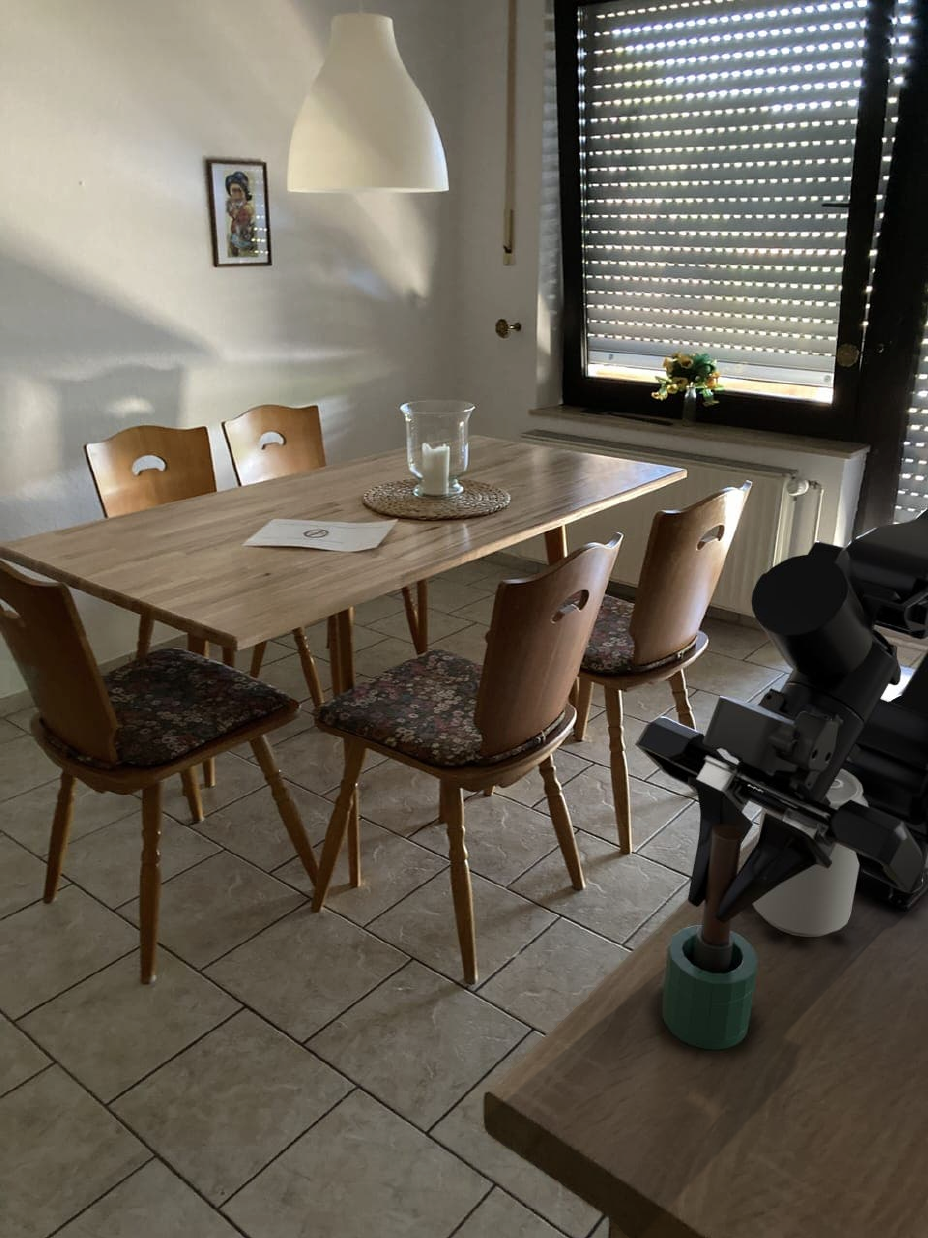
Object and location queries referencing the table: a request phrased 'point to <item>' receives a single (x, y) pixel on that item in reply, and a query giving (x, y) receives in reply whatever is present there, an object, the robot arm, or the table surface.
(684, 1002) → the teal hollow cylinder
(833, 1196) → the table surface
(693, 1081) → the table surface
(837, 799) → the can
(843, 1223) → the table surface
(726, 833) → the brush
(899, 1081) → the table surface
